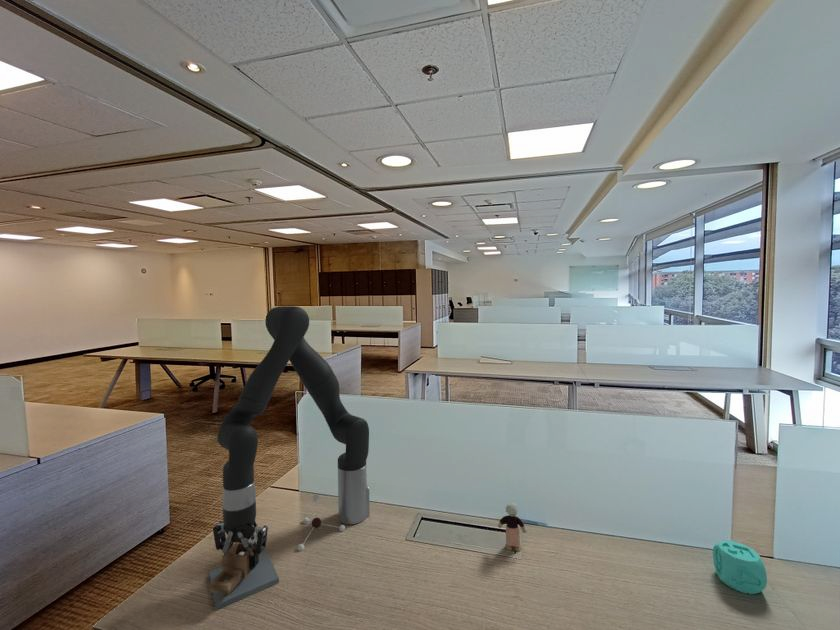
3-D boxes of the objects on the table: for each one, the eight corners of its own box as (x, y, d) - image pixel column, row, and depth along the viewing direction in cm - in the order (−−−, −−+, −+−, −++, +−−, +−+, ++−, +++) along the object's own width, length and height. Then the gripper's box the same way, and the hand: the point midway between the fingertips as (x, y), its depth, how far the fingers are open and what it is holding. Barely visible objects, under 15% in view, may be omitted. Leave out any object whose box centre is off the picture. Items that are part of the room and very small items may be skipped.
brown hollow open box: (259, 561, 96) (258, 542, 96) (231, 594, 85) (230, 573, 85) (238, 559, 97) (237, 540, 97) (207, 591, 86) (207, 570, 86)
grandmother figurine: (524, 543, 107) (524, 500, 107) (526, 552, 103) (526, 508, 103) (497, 541, 108) (497, 499, 107) (498, 550, 104) (498, 506, 103)
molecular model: (297, 553, 105) (296, 509, 104) (303, 522, 119) (302, 483, 119) (345, 546, 107) (344, 504, 107) (345, 516, 122) (344, 479, 121)
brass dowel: (229, 591, 89) (229, 583, 89) (230, 594, 88) (230, 586, 88) (223, 593, 88) (223, 585, 88) (224, 596, 87) (224, 588, 87)
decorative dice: (766, 598, 87) (767, 565, 86) (725, 589, 89) (726, 557, 89) (750, 574, 94) (751, 544, 94) (712, 567, 97) (712, 537, 97)
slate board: (266, 554, 104) (265, 529, 103) (279, 582, 93) (278, 554, 93) (209, 576, 96) (208, 549, 95) (216, 610, 85) (215, 579, 85)
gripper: (274, 495, 95) (275, 558, 96) (223, 491, 98) (226, 553, 98) (256, 512, 88) (258, 580, 89) (202, 507, 90) (205, 573, 91)
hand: (241, 565), depth 94 cm, fingers closed on brown hollow open box, 6 cm apart
